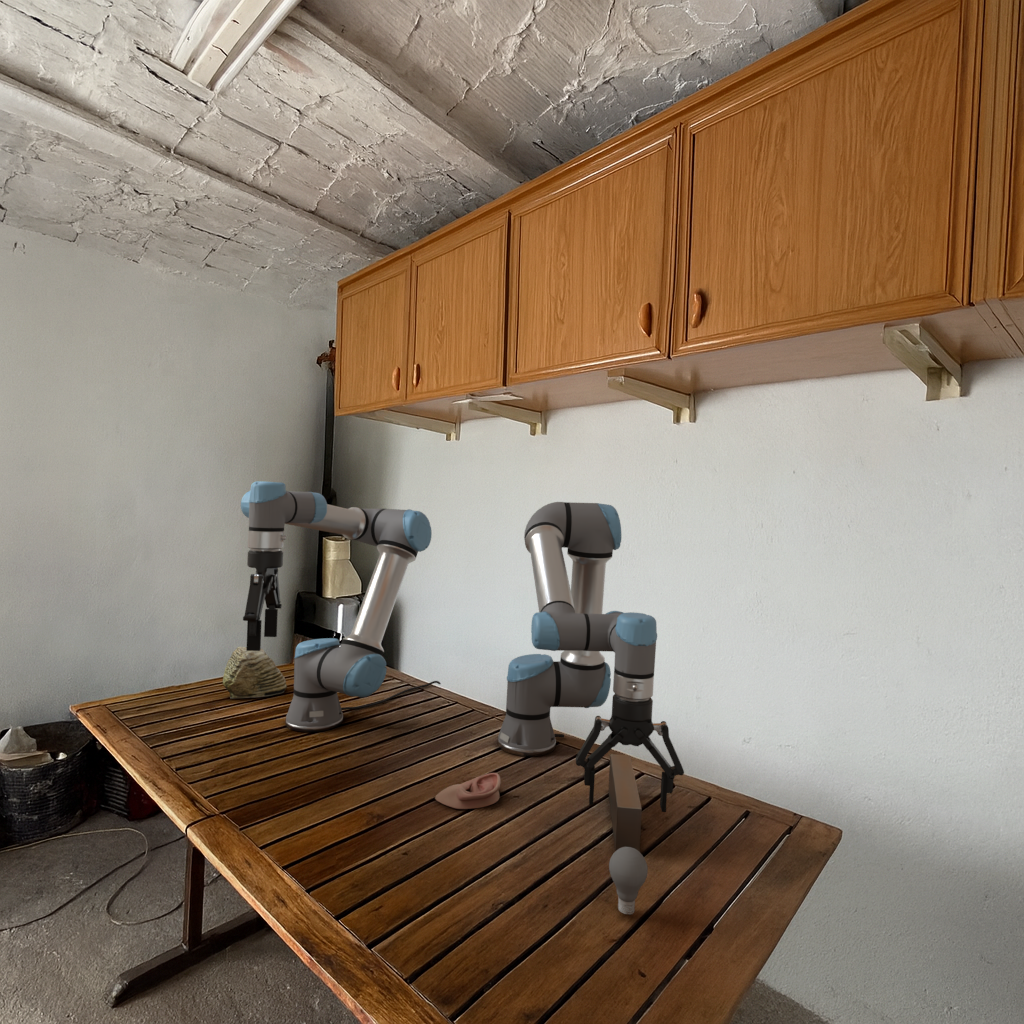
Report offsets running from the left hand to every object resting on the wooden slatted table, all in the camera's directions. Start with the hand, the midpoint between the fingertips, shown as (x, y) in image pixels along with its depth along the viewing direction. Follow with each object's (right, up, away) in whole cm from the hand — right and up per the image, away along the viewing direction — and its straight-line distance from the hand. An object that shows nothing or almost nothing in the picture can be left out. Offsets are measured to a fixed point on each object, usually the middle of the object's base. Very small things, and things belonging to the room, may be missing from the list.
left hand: (262, 643), depth 143 cm
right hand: (+79, -26, -22) cm, 86 cm away
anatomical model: (+47, -32, -7) cm, 57 cm away
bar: (+79, -33, -14) cm, 87 cm away
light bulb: (+75, -34, -43) cm, 93 cm away
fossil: (-24, -28, +55) cm, 66 cm away
